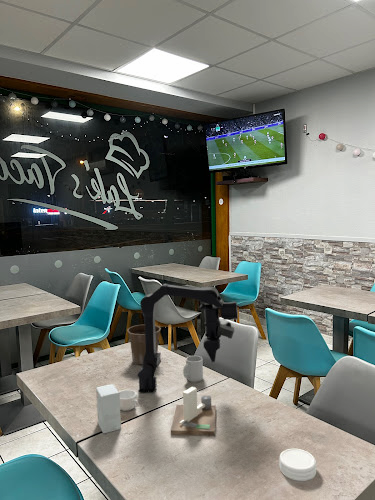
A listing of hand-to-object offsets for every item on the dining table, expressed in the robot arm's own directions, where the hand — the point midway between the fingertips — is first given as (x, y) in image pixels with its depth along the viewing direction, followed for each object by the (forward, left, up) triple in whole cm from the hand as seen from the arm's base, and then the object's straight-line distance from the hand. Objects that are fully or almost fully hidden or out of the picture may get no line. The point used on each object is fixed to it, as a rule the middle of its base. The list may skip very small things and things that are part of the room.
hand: (214, 357), depth 157 cm
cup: (-10, +11, -15) cm, 21 cm away
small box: (-36, -27, -15) cm, 47 cm away
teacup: (-32, -15, -15) cm, 38 cm away
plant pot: (-35, +32, -15) cm, 50 cm away
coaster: (+24, -47, -15) cm, 55 cm away
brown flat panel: (-7, -23, -15) cm, 28 cm away
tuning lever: (-6, -21, -13) cm, 26 cm away
